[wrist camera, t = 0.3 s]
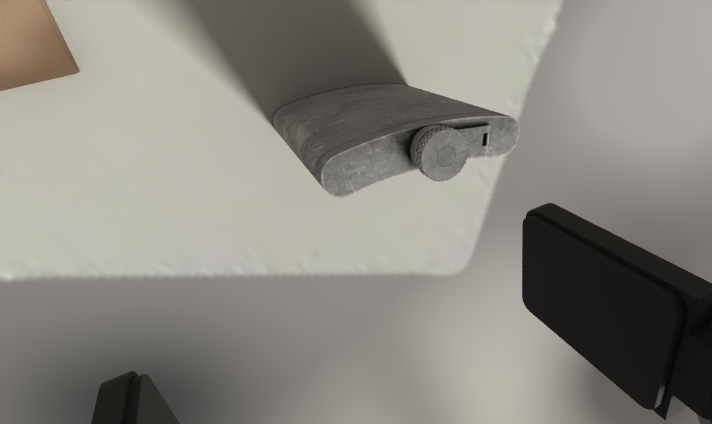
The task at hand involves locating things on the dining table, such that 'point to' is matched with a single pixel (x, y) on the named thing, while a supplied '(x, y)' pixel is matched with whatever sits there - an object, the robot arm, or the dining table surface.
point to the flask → (389, 135)
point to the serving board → (31, 45)
